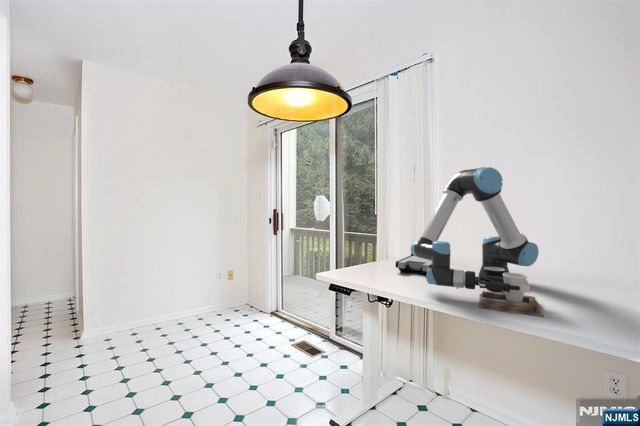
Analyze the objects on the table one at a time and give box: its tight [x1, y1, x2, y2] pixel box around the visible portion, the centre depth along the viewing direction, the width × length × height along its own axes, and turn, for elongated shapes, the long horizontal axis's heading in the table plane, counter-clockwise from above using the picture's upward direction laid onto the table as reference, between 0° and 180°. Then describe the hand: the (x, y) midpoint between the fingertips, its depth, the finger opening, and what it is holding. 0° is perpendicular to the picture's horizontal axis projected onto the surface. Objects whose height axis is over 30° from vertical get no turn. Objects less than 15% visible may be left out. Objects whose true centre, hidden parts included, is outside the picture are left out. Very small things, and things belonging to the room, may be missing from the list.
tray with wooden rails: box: [478, 290, 545, 318], centre depth 126 cm, size 21×20×2 cm
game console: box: [395, 252, 432, 276], centre depth 189 cm, size 21×32×8 cm, turn 144°
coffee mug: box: [484, 267, 505, 293], centre depth 147 cm, size 12×9×10 cm
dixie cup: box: [502, 272, 528, 302], centre depth 125 cm, size 8×8×10 cm
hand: (528, 286), depth 122 cm, fingers closed on dixie cup, 8 cm apart
